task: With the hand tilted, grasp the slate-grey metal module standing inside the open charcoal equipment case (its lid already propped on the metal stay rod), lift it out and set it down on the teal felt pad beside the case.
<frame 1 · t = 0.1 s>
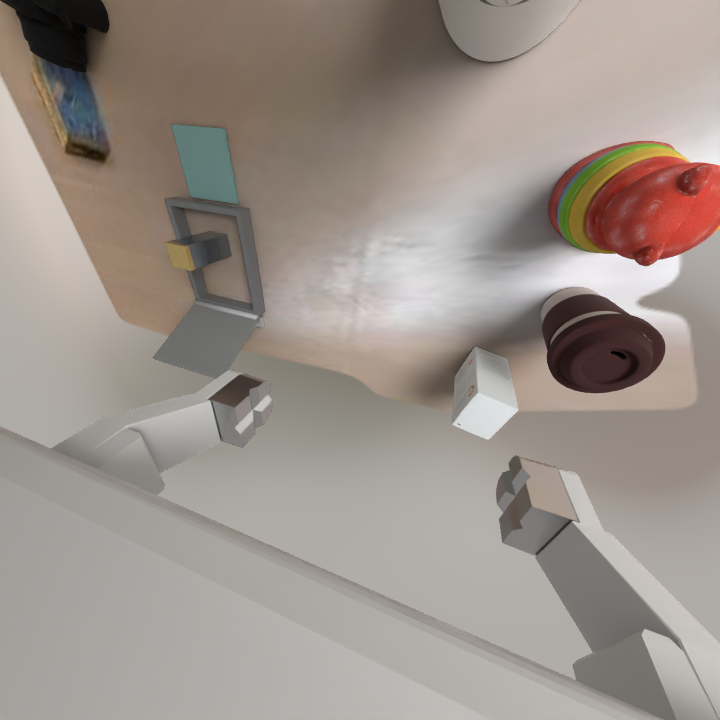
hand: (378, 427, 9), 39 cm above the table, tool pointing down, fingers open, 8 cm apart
small box: (480, 367, 50), on the table
film camera: (73, 21, 39), on the table
module: (220, 243, 53), resting in case
case: (224, 259, 54), on the table
pad: (207, 165, 45), on the table
coffee cup: (568, 308, 40), on the table
stacking bear: (595, 197, 32), on the table
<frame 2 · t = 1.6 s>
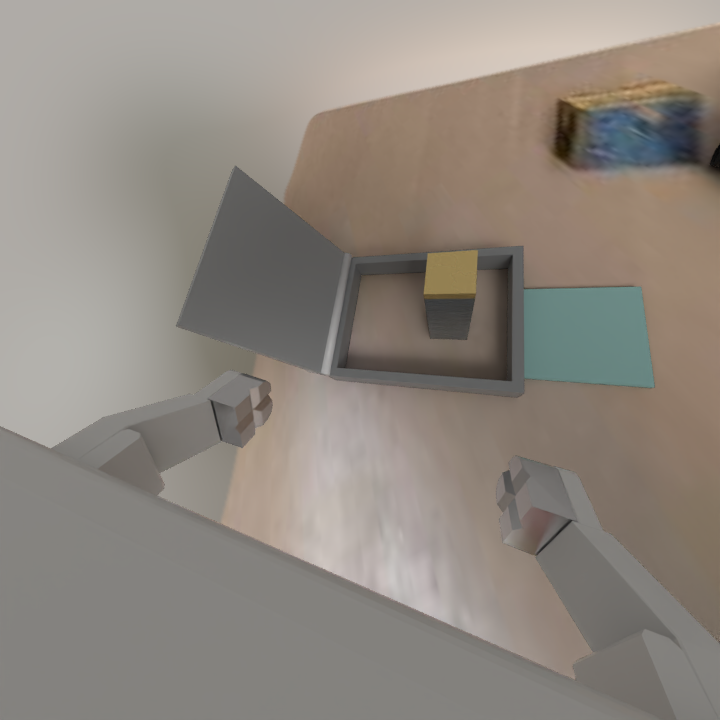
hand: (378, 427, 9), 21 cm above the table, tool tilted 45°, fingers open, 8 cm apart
module: (449, 323, 31), resting in case
case: (423, 322, 32), on the table
pad: (580, 334, 27), on the table
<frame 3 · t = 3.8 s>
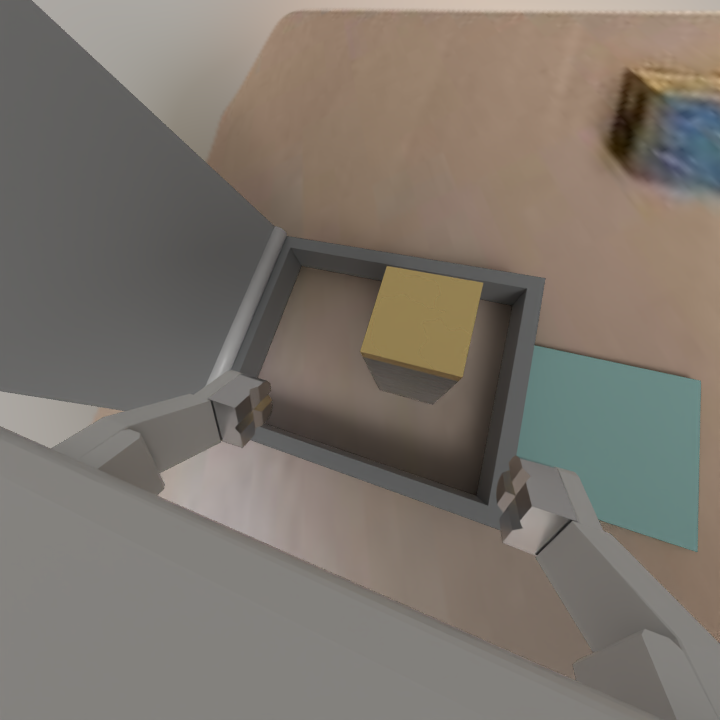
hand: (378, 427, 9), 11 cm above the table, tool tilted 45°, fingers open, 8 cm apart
module: (412, 371, 20), resting in case
case: (374, 361, 21), on the table
pad: (598, 435, 17), on the table
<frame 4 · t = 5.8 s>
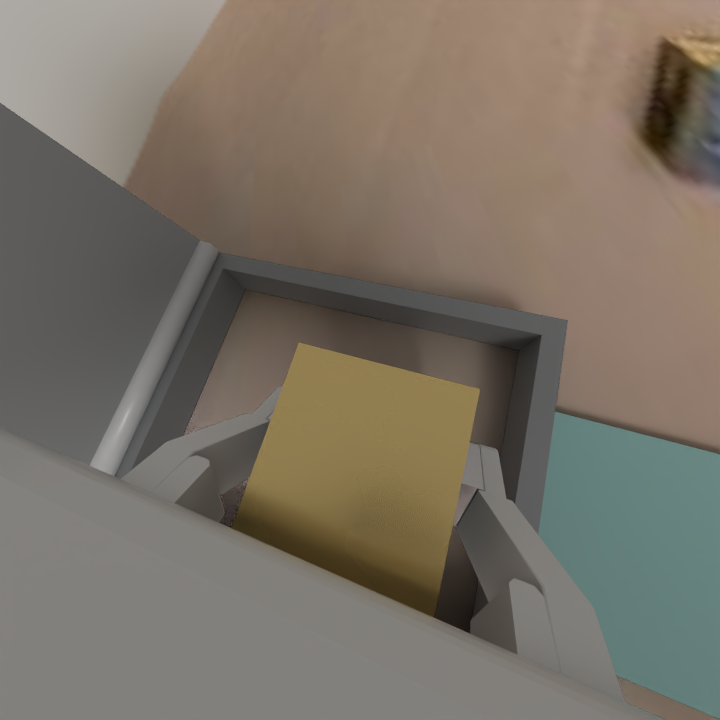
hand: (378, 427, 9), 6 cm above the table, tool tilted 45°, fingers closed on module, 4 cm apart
module: (383, 440, 15), resting in case, touching gripper
case: (333, 425, 15), on the table
pad: (643, 547, 12), on the table
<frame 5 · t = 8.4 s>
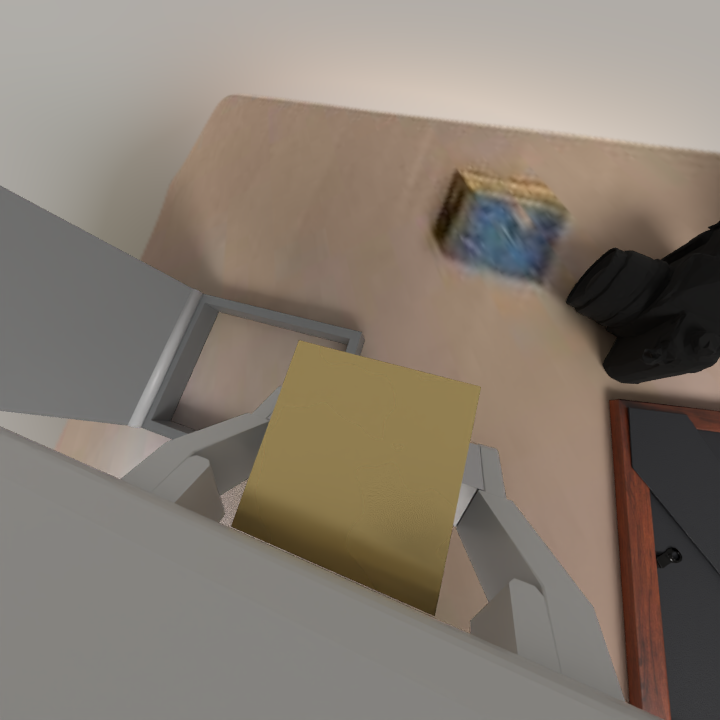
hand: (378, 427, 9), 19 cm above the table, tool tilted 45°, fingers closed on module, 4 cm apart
film camera: (616, 312, 27), on the table
module: (383, 440, 15), point 13 cm above the table, touching gripper
case: (260, 383, 30), on the table
when the fingers open (8 cm above the table, at t = 10.8 s): module drops 2 cm, resting on pad.
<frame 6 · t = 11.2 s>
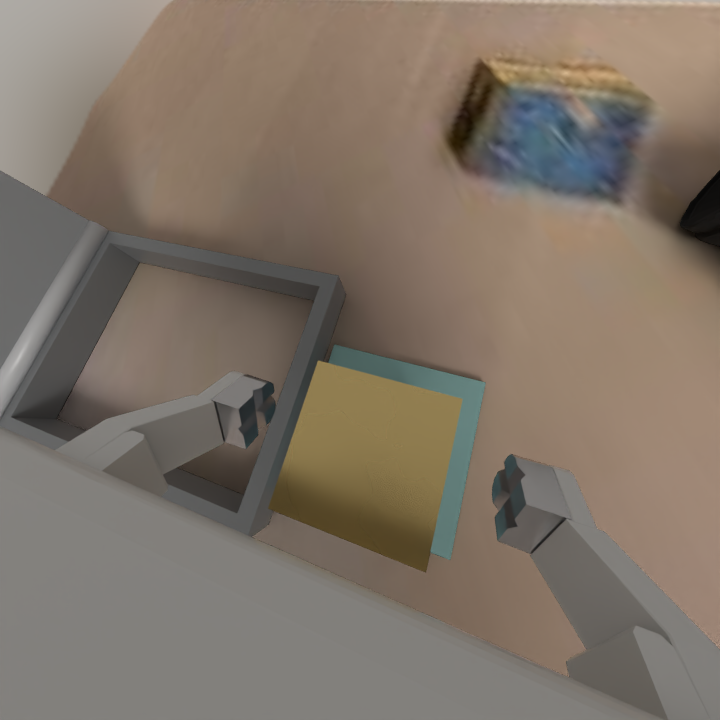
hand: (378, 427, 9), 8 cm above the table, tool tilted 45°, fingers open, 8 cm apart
module: (385, 440, 16), resting on pad
case: (190, 362, 20), on the table
pad: (385, 438, 17), on the table
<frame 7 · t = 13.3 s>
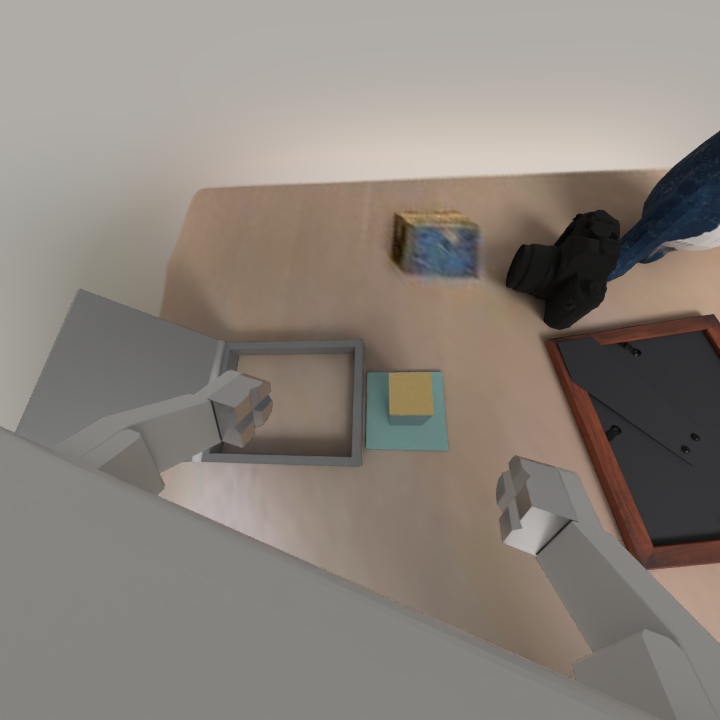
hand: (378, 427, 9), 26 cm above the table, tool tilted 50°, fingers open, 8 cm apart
dark blue plush toy: (648, 249, 39), on the table
film camera: (539, 285, 39), on the table
picture frame: (666, 427, 32), on the table
module: (405, 409, 34), resting on pad
case: (291, 401, 37), on the table
pad: (405, 409, 35), on the table
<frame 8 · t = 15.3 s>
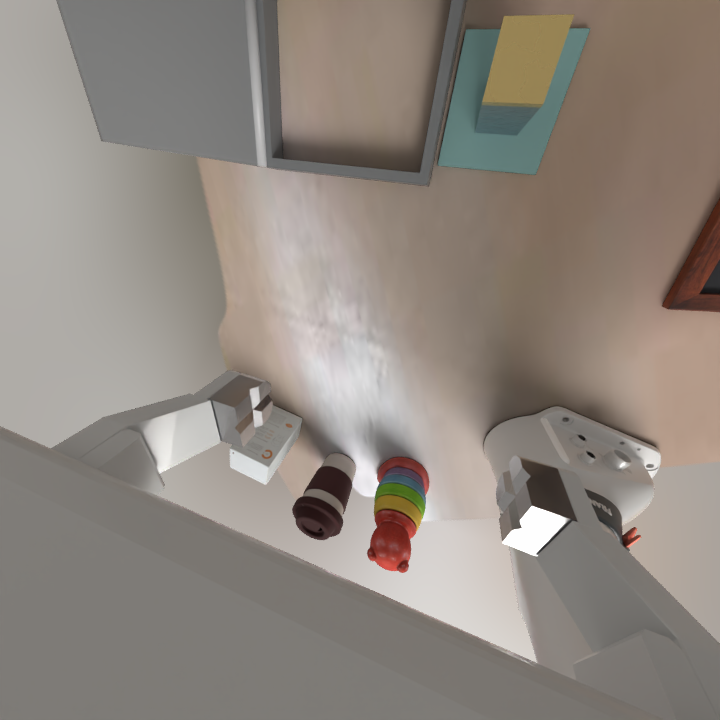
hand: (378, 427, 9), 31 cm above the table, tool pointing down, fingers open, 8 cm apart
small box: (285, 419, 60), on the table
module: (503, 107, 26), resting on pad
case: (354, 87, 29), on the table
pad: (502, 107, 26), on the table
coffee cup: (341, 462, 61), on the table
stacking bear: (405, 472, 56), on the table
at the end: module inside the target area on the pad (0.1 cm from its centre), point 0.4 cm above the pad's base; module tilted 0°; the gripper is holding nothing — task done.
